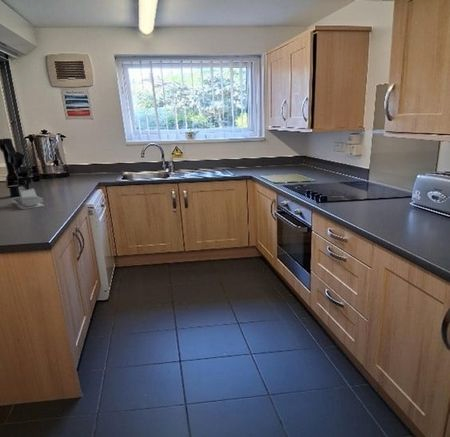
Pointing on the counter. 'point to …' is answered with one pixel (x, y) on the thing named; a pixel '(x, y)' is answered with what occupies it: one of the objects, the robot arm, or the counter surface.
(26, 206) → the pad
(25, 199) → the skincare box
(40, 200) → the light grey flat frame
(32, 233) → the counter surface
